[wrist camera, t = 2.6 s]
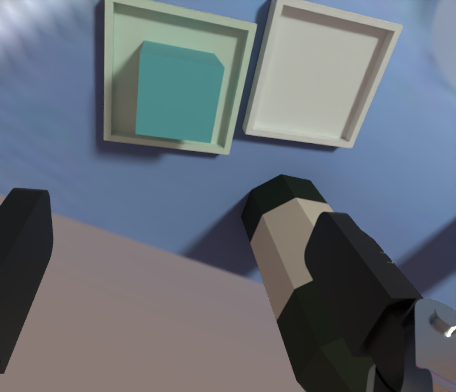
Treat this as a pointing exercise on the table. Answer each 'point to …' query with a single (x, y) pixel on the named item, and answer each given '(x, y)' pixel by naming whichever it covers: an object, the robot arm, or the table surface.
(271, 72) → the grey tray
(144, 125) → the teal block
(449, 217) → the table surface
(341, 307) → the robot arm
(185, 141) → the green tray
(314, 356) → the wine bottle
